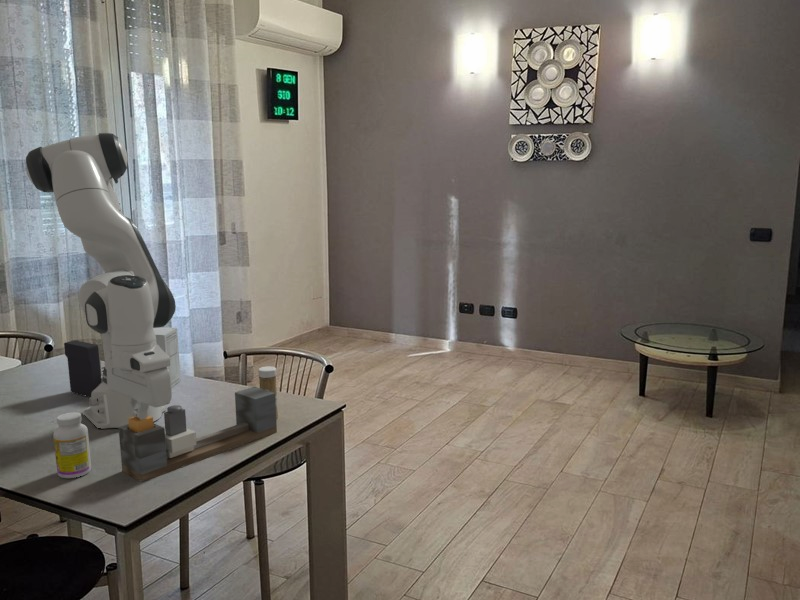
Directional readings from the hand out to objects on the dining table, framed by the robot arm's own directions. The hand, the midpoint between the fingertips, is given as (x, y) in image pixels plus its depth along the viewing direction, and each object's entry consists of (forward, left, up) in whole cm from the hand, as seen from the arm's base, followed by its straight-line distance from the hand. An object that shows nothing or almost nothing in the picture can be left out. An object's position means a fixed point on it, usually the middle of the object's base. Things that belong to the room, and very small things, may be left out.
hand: (140, 417), depth 149 cm
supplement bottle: (-11, -10, -12) cm, 19 cm away
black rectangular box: (-61, +17, -12) cm, 65 cm away
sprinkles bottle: (-5, +38, -12) cm, 40 cm away
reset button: (0, 0, -5) cm, 5 cm away
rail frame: (0, +15, -12) cm, 19 cm away
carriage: (0, +8, -10) cm, 13 cm away
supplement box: (-52, +35, -12) cm, 64 cm away
